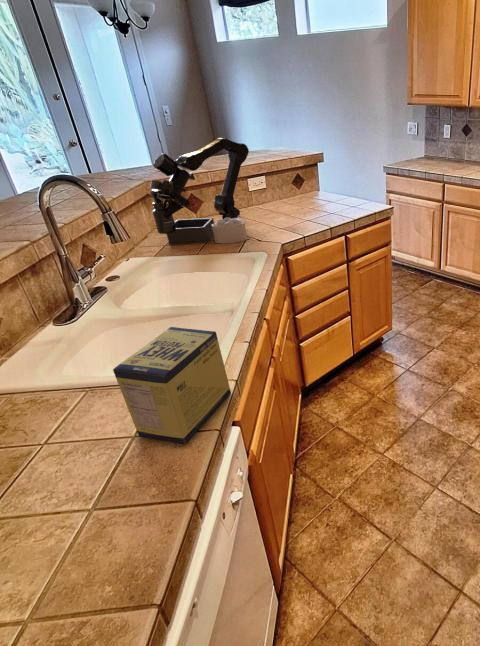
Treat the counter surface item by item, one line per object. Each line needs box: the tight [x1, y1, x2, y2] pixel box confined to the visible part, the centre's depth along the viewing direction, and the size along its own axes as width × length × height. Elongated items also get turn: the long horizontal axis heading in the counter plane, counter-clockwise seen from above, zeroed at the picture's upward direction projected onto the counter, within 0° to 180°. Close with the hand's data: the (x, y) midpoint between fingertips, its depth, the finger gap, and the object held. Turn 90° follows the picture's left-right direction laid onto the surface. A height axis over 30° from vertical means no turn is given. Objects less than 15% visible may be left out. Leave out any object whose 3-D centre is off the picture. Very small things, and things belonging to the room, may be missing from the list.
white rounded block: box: [212, 217, 248, 244], centre depth 183 cm, size 10×13×9 cm
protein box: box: [112, 326, 232, 445], centre depth 82 cm, size 10×16×16 cm
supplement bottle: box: [152, 201, 176, 235], centre depth 172 cm, size 7×7×12 cm
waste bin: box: [166, 217, 215, 245], centre depth 186 cm, size 16×15×7 cm
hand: (159, 216), depth 171 cm, fingers closed on supplement bottle, 7 cm apart
